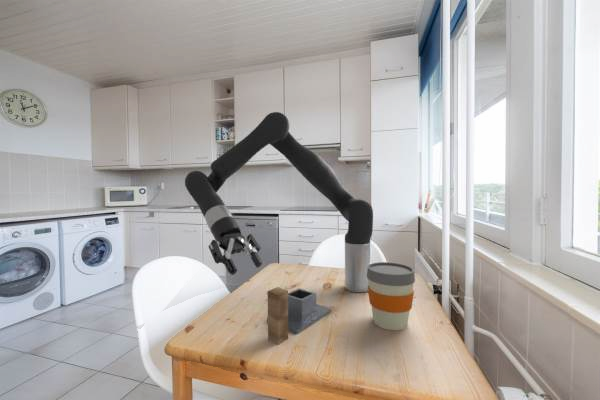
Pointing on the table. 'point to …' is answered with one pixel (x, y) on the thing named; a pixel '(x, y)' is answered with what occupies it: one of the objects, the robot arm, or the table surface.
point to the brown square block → (278, 315)
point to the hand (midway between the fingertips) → (247, 269)
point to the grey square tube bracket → (303, 310)
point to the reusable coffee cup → (390, 294)
